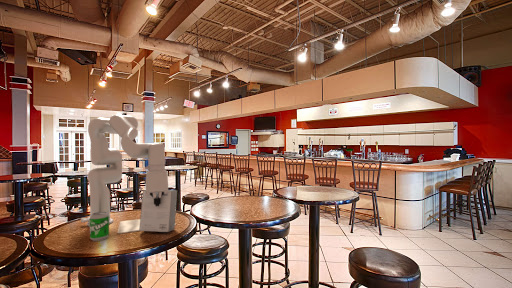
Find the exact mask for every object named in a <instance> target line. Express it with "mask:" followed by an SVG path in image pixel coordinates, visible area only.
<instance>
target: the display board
mask: <svg viewBox="0 0 512 288" xmlns="http://www.w3.org/2000/svg"><path fill="white" fill-rule="evenodd" d="M175 225H176V226H177V223H176V222H175ZM139 228H140V218H138V219H129V220H128V219H127V220H121V221H119V225H118V229H117V233H116V235H121V234H127V233H136V232H140V231H139Z"/></svg>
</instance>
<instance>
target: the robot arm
mask: <svg viewBox="0 0 512 288" xmlns="http://www.w3.org/2000/svg"><path fill="white" fill-rule="evenodd" d="M87 126H88V127H87V132H88V136H89V141H90V161H91V163H92V165H94V166H103V167H97V168H96V167H95V168H92V169H91V170H90V171H89V172H88V173H87V180H88V186H89V200H90V201H89V205H90V206H89V209H90V210H89V211H90V212H89V216H88V217H84V218H83V217H82V218H80V222H81V223H86V226H87V227H89V228H90V216H91V215H92V214H93V213H96V212H107V213H108V214H109V225H110V224H112V223H114V218H111V193H110V189H109V187H108V186H107V185H108V184H114V183H118V182H121V180H122V178H123V155H122V153H121V151H120V150H119V149H117V148H109V140H108V138H107V136H105V134H109V135H110V134H114V135H118V136H119V137H120V145H121V149H122V151H123V152H124V153H125V154H126V155H127V156H128V157H129V158H132V159H147V160H148V165H147V166H144V167H145V170H148V171H147V172H146V174H145V190H146V192H145V194H146V195H151V196H152V197H153V198H154V205H155V206H159V204H161V199H160V198H161V196H162V195H163V194H165V193H168V192H169V191H168V190H169V178H168V171H167V170H166V161H165V160H166V156H165V155H166V152H165V149H166V148H165V144H164V143H161V142H159V143H157V142H154V143H151V142H150V143H147V142H135V141H134V140H135V139H136V138H137V137H138V135H139V134H138V133H139V131H138V129H137V128H138V127H139V122H138V120H137V118H136V117H134V116H133V115H132V116H131V115H125V114H113V115H111V116H110V117H109V118H107V117H95V118H93V119H91V120H90V121H89V123H88V125H87ZM108 165H109V166H108ZM105 166H106V167H105ZM155 192H159V194H158V197H156V194H155Z"/></svg>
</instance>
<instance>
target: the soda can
mask: <svg viewBox="0 0 512 288" xmlns="http://www.w3.org/2000/svg"><path fill="white" fill-rule="evenodd" d="M89 217H90V227H89V239H90V240H92V241H93V242H99V241H104V240H106V239H107V238H108V237H109V235H110V228H109V227H110V224H109V214H108V213H107V212H96V213H93V214H92V215H91V216H90V215H89Z"/></svg>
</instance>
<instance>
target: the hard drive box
mask: <svg viewBox="0 0 512 288" xmlns="http://www.w3.org/2000/svg"><path fill="white" fill-rule="evenodd" d="M168 191H169V192H168V193H165V194H163V195H162V196H161V198H160V199H161V204H159V206H155V205H154V198H153V197H152V196H151V195H146V194H145V192H146V189H145V190H144V189H143V190H142V195H141V196H142V197H141V207H140V208H141V209H140V217H139V219H140V228H139V231H138V232H159V233H169V232H171V231H174V230H175V229H176V228H175V227H176V226H175V223H176V214H177V202H178V201H177V200H178V199H177V197H178V190H172V189H171V190H169V189H168ZM155 194H156V197H158V194H159V192H155Z"/></svg>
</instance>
